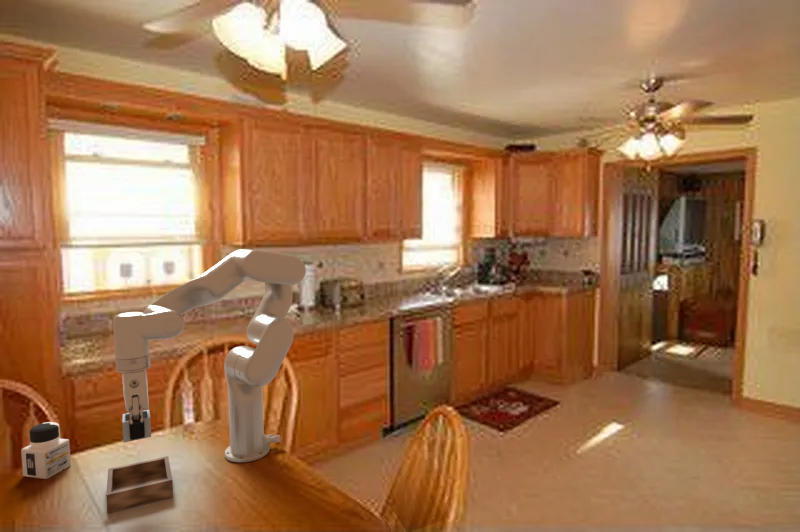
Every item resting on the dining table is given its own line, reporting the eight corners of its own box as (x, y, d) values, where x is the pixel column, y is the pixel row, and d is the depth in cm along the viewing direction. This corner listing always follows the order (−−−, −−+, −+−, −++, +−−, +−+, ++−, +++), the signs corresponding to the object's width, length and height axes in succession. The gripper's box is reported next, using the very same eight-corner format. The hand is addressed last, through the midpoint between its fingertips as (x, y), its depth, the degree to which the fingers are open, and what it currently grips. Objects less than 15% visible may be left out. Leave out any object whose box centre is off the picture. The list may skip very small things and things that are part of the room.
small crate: (150, 428, 127) (149, 409, 126) (151, 437, 122) (150, 417, 121) (123, 433, 124) (122, 414, 123) (123, 442, 119) (122, 422, 118)
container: (46, 479, 130) (43, 432, 129) (22, 476, 131) (18, 429, 130) (71, 465, 137) (68, 420, 136) (48, 462, 139) (45, 418, 138)
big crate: (169, 472, 133) (168, 456, 133) (173, 497, 121) (172, 479, 121) (109, 485, 127) (108, 468, 126) (107, 513, 115) (106, 495, 114)
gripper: (151, 369, 115) (155, 443, 117) (149, 352, 130) (152, 418, 132) (114, 374, 112) (119, 450, 113) (116, 356, 127) (120, 423, 128)
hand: (137, 432), depth 123 cm, fingers closed on small crate, 6 cm apart
